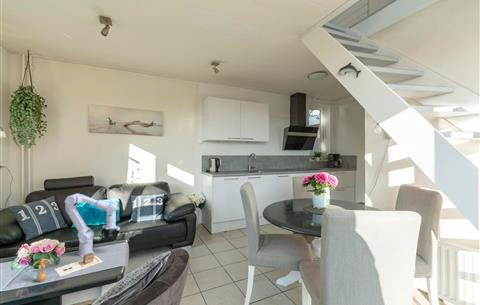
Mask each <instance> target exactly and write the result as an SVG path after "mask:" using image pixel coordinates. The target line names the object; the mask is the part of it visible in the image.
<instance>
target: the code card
mask: <svg viewBox="0 0 480 305" xmlns="http://www.w3.org/2000/svg"><path fill="white" fill-rule="evenodd" d="M103 262H104V260H102V259H101V258H99V257H98V256H97V255H94V259H93V262H91V263H88V264H86V265H85V264H84V263H83V259H81V260H79V261H75V262H72V263H69V264H65V265H64V266H63V265H62V266H59V267H56V268H54V270H55V271H56V273H57V274H58V275H59V277H63V276H66V275H69V274H72V273H74V272H77V271H80V270H83V269H86V268H89V267H91V266H92V267H93V266H94V265H97V264H100V263H103Z"/></svg>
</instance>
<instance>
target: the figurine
mask: <svg viewBox="0 0 480 305" xmlns="http://www.w3.org/2000/svg"><path fill="white" fill-rule="evenodd" d="M46 261H48V263H49V264H50V265H52V262H51V261H50V260H49V259H47V258H43V257H42V258H40V259H39V260H37V261H35V262H34V263H33V264H32V266H31V271H32V270H33V268H34V266H35V265H36V264H38V263H39V265H38V272H39V274H38V275H37V276H36V280H37V282H43V281H44V280H46V279H47V277H48V276H47V273H45V267H46V264H45V262H46ZM41 268H42V272H41Z"/></svg>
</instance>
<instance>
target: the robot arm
mask: <svg viewBox="0 0 480 305" xmlns="http://www.w3.org/2000/svg"><path fill="white" fill-rule="evenodd" d="M80 203H85V204H89V205H93V206H95V208H97V209H99V210H102V211H105V212H106V224H103V225H102V229H101V232H102V233H103V236H104V238H105V240H106V239H109V237H110V231H111V234H112V240H113V241H116V240H117V239H118V235H119V233H120V232H121V227H120V226H118V225H116V224H117V223H116V222H117V214H116V213H117V209H118V205H117V204H116V203H114V202H108V201H106V200H105V199H99V200H97V199H94V198H92V197H89V196H87V195H85V194H81V193H77V192H76V193H74V194H71V195H68V196H67V197H65V200H64V204H65V206H64V208H65V212H66V213H67V215H68V217H69V219H70V220H71V222H72V224H73V225H74V227H75V228H76V230H77V238H78V242H79V246H78V252H77V253H76V254H77V255H78V256H80V258H83V255H85V254H88V253H93V254H95V253H96V252H95V251H94V249H93V248H94V246H93V244H94V243H93V242H94V239H93V238H94V236H95V232H94V230H92V229H91V227H89V226H87V224H86V223H85V221H84V219H83V217H82V216H81V215H80V213H79V211H78V210H77V207H78V204H80Z"/></svg>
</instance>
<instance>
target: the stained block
mask: <svg viewBox="0 0 480 305" xmlns="http://www.w3.org/2000/svg"><path fill="white" fill-rule="evenodd" d="M94 254H95V253H94ZM94 254H93V253H88V254H85V255H83V257H82V260H83V263H84V264H85V265H86V264H88V263H91V262H93V259H94V256H95V255H94Z"/></svg>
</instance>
